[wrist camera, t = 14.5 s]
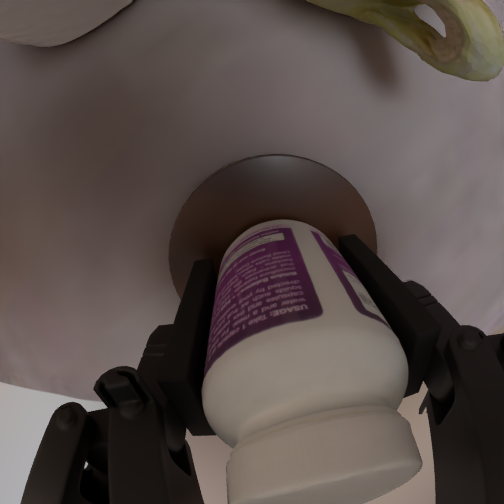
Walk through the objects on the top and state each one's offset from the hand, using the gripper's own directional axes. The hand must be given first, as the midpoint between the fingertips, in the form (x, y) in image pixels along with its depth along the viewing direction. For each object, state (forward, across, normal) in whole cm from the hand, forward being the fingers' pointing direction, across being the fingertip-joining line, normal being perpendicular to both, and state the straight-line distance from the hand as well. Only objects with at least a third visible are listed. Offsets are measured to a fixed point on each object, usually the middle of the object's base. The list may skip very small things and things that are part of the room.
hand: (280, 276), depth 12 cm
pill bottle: (+1, 0, 0) cm, 1 cm away
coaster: (+2, 0, 0) cm, 2 cm away
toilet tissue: (+2, -7, +20) cm, 21 cm away
